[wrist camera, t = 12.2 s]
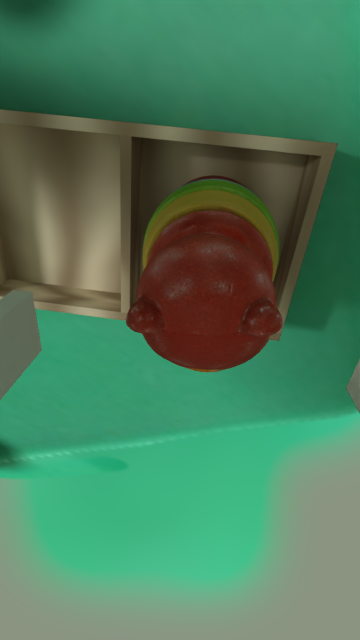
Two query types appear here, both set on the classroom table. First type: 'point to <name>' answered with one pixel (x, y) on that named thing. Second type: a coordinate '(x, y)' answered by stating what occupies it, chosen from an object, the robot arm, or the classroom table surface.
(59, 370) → the classroom table surface
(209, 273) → the stacking bear
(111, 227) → the divided wooden tray
